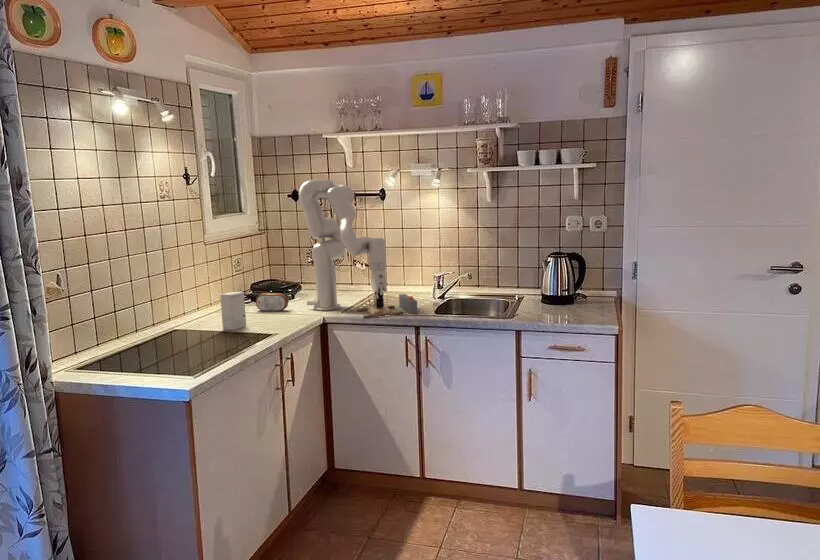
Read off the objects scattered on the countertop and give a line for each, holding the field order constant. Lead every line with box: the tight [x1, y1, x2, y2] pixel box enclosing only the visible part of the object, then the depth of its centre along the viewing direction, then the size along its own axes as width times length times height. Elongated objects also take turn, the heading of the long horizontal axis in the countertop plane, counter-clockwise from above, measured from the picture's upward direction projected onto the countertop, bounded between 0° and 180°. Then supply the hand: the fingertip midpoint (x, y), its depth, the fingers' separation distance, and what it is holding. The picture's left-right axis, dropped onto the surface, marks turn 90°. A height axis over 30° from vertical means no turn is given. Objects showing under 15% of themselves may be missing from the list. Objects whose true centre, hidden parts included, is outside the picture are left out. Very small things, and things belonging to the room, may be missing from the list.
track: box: [355, 305, 404, 319], centre depth 284 cm, size 18×15×1 cm
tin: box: [255, 292, 289, 312], centre depth 295 cm, size 15×3×8 cm, turn 84°
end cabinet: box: [398, 293, 418, 315], centre depth 288 cm, size 3×18×6 cm, turn 17°
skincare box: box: [219, 291, 247, 331], centre depth 263 cm, size 8×6×15 cm
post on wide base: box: [367, 294, 392, 315], centre depth 284 cm, size 8×11×8 cm
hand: (379, 306), depth 284 cm, fingers closed on post on wide base, 3 cm apart
